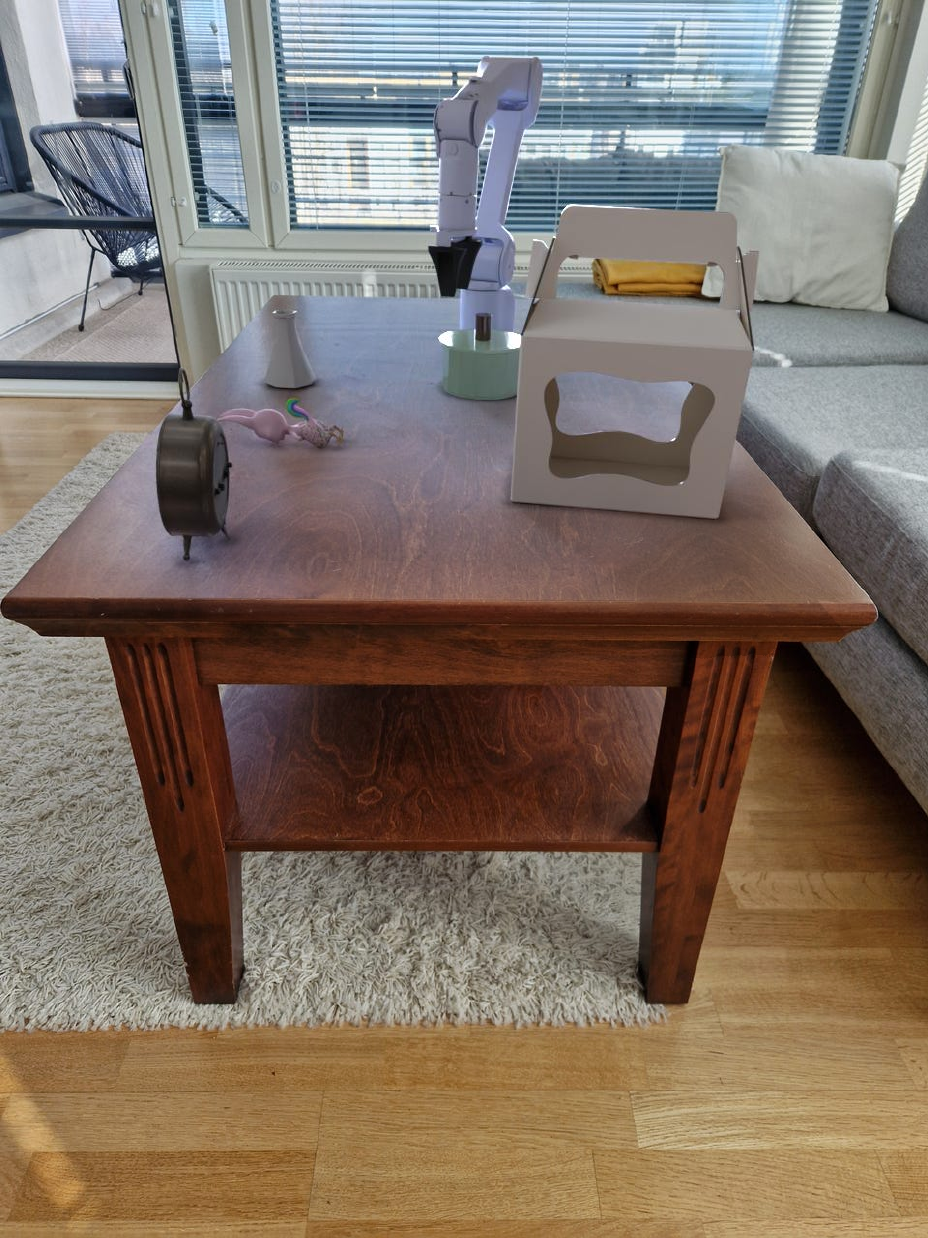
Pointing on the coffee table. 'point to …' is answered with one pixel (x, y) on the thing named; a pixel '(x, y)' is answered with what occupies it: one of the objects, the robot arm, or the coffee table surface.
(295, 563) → the coffee table surface
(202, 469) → the alarm clock
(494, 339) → the lid
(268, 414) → the rabbit figure
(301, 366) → the flask
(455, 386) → the jar
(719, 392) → the gable box
